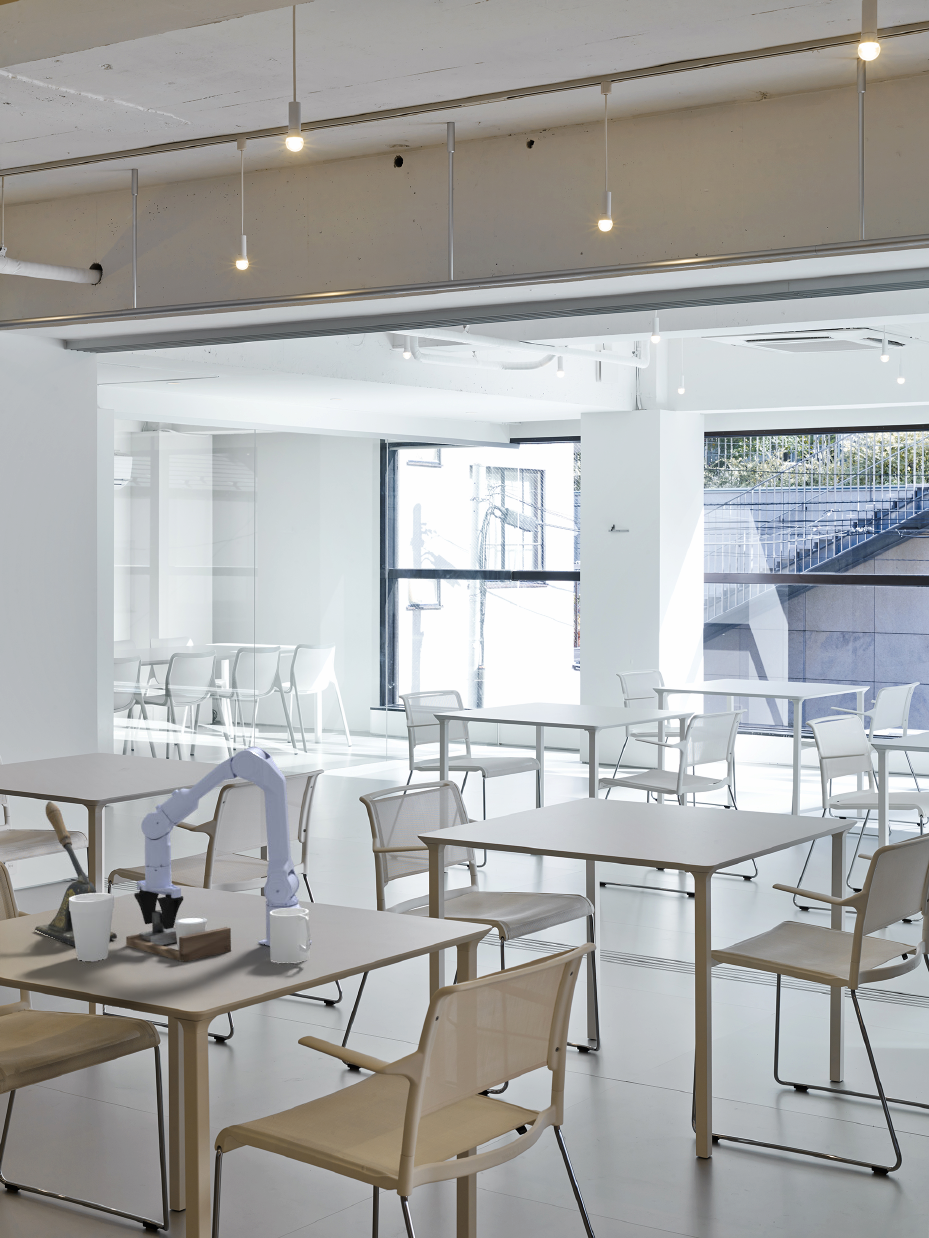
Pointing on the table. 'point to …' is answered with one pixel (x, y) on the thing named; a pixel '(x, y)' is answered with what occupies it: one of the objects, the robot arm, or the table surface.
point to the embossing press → (62, 921)
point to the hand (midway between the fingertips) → (159, 925)
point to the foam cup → (91, 924)
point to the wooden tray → (189, 945)
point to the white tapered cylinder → (189, 926)
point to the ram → (159, 931)
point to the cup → (289, 935)
